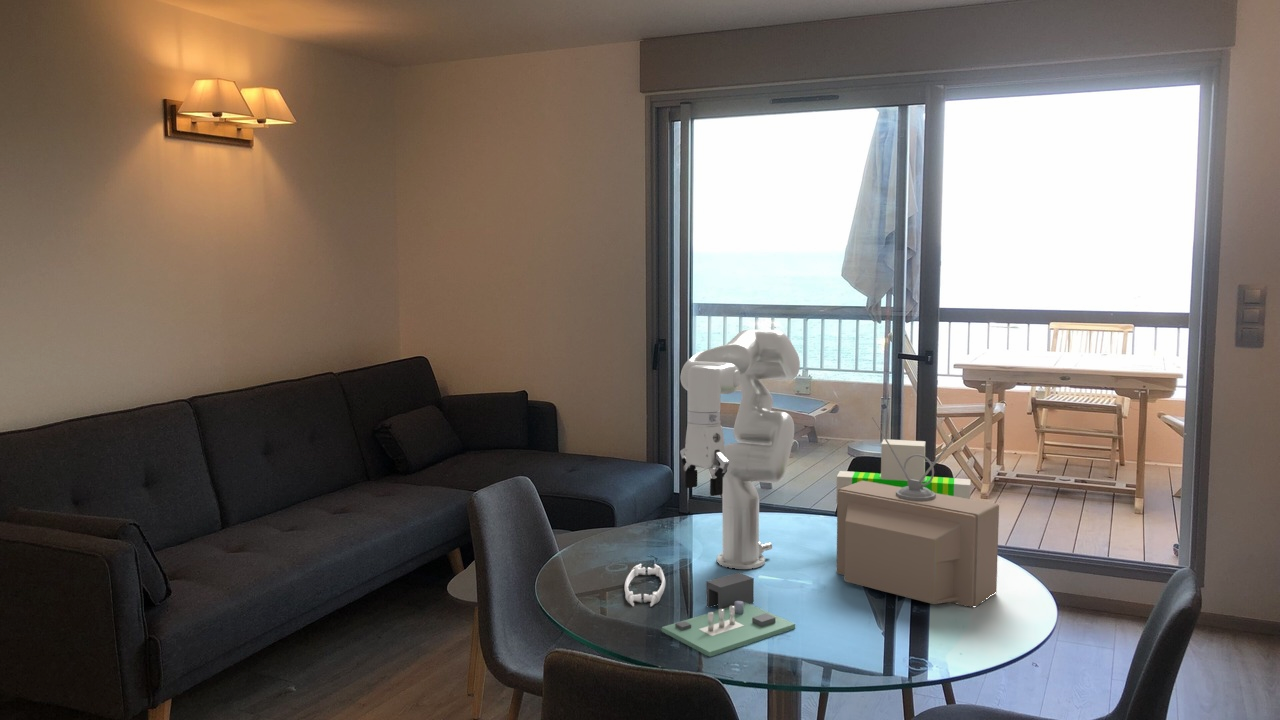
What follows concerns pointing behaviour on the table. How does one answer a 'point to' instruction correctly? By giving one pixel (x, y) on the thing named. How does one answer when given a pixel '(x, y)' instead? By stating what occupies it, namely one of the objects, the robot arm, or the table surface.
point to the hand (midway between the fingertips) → (703, 491)
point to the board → (728, 629)
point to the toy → (914, 469)
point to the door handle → (647, 598)
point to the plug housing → (729, 590)
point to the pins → (721, 618)
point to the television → (917, 540)
